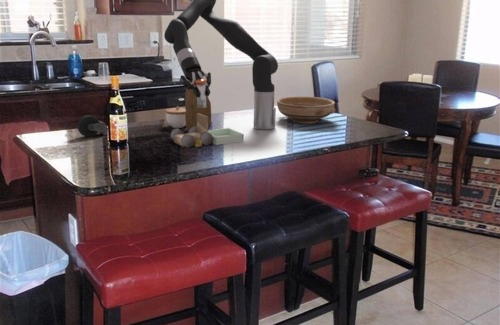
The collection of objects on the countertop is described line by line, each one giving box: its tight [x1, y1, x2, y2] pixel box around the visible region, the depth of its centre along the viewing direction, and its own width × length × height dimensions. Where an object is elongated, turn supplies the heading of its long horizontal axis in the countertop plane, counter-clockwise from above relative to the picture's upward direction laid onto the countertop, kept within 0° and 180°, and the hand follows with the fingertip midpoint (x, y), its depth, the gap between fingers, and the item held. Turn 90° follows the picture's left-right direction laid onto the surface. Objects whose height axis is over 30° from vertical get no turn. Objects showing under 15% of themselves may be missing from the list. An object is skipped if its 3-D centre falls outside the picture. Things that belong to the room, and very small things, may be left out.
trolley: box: [170, 113, 213, 148], centre depth 206 cm, size 13×14×11 cm
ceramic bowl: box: [276, 95, 336, 124], centre depth 252 cm, size 37×29×10 cm
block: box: [184, 87, 212, 131], centre depth 227 cm, size 11×8×20 cm
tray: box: [208, 127, 245, 146], centre depth 213 cm, size 13×13×3 cm
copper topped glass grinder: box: [195, 78, 207, 108], centre depth 203 cm, size 5×5×11 cm
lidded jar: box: [165, 105, 186, 129], centre depth 236 cm, size 11×11×9 cm
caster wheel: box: [77, 114, 109, 138], centre depth 216 cm, size 6×10×15 cm
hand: (203, 95), depth 201 cm, fingers closed on copper topped glass grinder, 3 cm apart
